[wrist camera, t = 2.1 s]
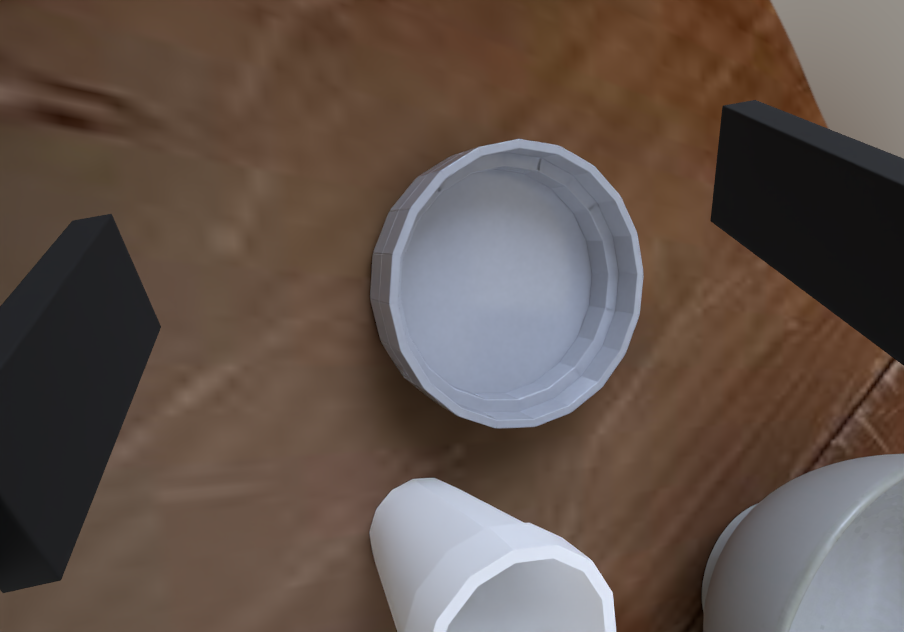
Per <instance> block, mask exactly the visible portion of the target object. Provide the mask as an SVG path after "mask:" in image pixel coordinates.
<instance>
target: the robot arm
mask: <svg viewBox="0 0 904 632" xmlns="http://www.w3.org/2000/svg"><path fill="white" fill-rule="evenodd" d="M711 222H713V223H714V224H715V225H717V226H718V227H719V228H721V229H722V230H723V231H725V232H726V233H727V234H729V235H730V236H731V237H733V238H734V239H735V240H737V241H738V242H739V243H741V244H742V245H743V246H745V247H746V248H747V249H749V250H750V251H751V252H753V253H754V254H755V255H757V256H758V257H759V258H761V259H762V260H763V261H765V262H766V263H767V264H769V265H770V266H771V267H773V268H774V269H776V270H777V271H778V272H780V273H781V274H782V275H784V276H785V277H786V278H788V279H789V280H790V281H792V282H793V283H794V284H796V285H797V286H798V287H800V288H801V289H802V290H804V291H805V292H806V293H808V294H809V295H810V296H812V297H813V298H814V299H816V300H817V301H818V302H820V303H821V304H822V305H824V306H825V307H826V308H828V309H829V310H830V311H832V312H833V313H834V314H836V315H837V316H838V317H840V318H841V319H842V320H844V321H845V322H846V323H848V324H849V325H850V326H852V327H853V328H854V329H856V330H857V331H858V332H860V333H861V334H862V335H864V336H865V337H866V338H868V339H869V340H870V341H872V342H873V343H874V344H876V345H877V346H878V347H880V348H881V349H882V350H884V351H885V352H886V353H888V354H889V355H890V356H892V357H893V358H894V359H896V360H897V361H898V362H900V363H901V364H902V365H904V159H903V158H901V157H898V156H895V155H893V154H890V153H888V152H885V151H883V150H880V149H878V148H875V147H873V146H870V145H867V144H865V143H863V142H860V141H857V140H855V139H852V138H850V137H847V136H845V135H842V134H840V133H837V132H834V131H832V130H830V129H827V128H825V127H822V126H820V125H817V124H815V123H812V122H809V121H807V120H804V119H802V118H799V117H797V116H794V115H792V114H789V113H787V112H784V111H782V110H779V109H777V108H774V107H771V106H769V105H766V104H764V103H761V102H759V101H756V100H753V101H747V102H742V103H736V104H731V105H725V106H723V107H722V117H721V127H720V136H719V146H718V155H717V165H716V174H715V184H714V193H713V203H712V212H711ZM160 328H161V326H160V324H159V321H158V319H157V317H156V314H155V312H154V310H153V308H152V305H151V303H150V301H149V298H148V296H147V294H146V292H145V289H144V287H143V285H142V283H141V280H140V278H139V276H138V273H137V271H136V269H135V267H134V264H133V262H132V260H131V257H130V255H129V253H128V251H127V248H126V246H125V244H124V241H123V239H122V237H121V235H120V232H119V230H118V228H117V225H116V223H115V221H114V219H113V216H112V214H108V215H102V216H97V217H91V218H85V219H80V220H74V221H72V222H71V223H70V224H69V225H68V227H67V228H66V229H65V230H64V231H63V233H62V234H61V235H60V236H59V237H58V239H57V240H56V241H55V242H54V243H53V245H52V246H51V247H50V248H49V249H48V250H47V252H46V253H45V254H44V255H43V256H42V258H41V259H40V260H39V261H38V262H37V264H36V265H35V266H34V267H33V268H32V270H31V271H30V272H29V273H28V274H27V276H26V277H25V278H24V279H23V280H22V281H21V283H20V284H19V285H18V286H17V287H16V289H15V290H14V291H13V292H12V293H11V295H10V296H9V297H8V298H7V299H6V301H5V302H4V303H3V304H2V305H1V306H0V590H1V591H2V592H3V593H6V592H10V591H15V590H19V589H24V588H28V587H33V586H37V585H42V584H46V583H51V582H55V581H60V580H61V579H62V576H63V574H64V571H65V569H66V566H67V563H68V561H69V558H70V556H71V553H72V551H73V548H74V546H75V543H76V541H77V538H78V536H79V533H80V531H81V528H82V525H83V523H84V520H85V518H86V515H87V513H88V510H89V508H90V505H91V503H92V500H93V498H94V495H95V493H96V490H97V487H98V485H99V482H100V480H101V477H102V475H103V472H104V470H105V467H106V465H107V462H108V460H109V457H110V455H111V452H112V450H113V447H114V444H115V442H116V439H117V437H118V434H119V432H120V429H121V427H122V424H123V422H124V419H125V417H126V414H127V412H128V409H129V406H130V404H131V401H132V399H133V396H134V394H135V391H136V389H137V386H138V384H139V381H140V379H141V376H142V374H143V371H144V369H145V366H146V363H147V361H148V358H149V356H150V353H151V351H152V348H153V346H154V343H155V341H156V338H157V336H158V333H159V331H160Z"/></svg>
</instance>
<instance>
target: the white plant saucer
mask: <svg viewBox="0 0 904 632" xmlns="http://www.w3.org/2000/svg"><path fill="white" fill-rule="evenodd" d="M373 253H374V254H373V258H372V273H371V289H370V298H371V300H370V301H371V305H372V309H373V313H374V317H375V321H376V325H377V329H378V333H379V337H380V340H381V341H382V344H383V346H384V348H385V349H386V351H387V352H388V354H389V356H390V357H391V359H392V360H393V362H394V363H395V365H396V367H397V368H398V370H399V371H400V373H401V375H402V376H403V377H404V378H405V379H406V380H407V381H409V382H410V383H411V384H412V385H414V386H415V387H416V388H417V389H419V390H420V391H421V392H422V393H424V394H425V395H426V396H427V397H429V398H430V399H431V400H433V401H434V402H436V403H437V404H439V405H440V406H442V407H444V408H445V409H447V410H448V411H450V412H452V413H453V414H455V415H457V416H458V417H462V418H465V419H468V420H471V421H474V422H477V423H480V424H483V425H486V426H489V427H492V428H496V429H499V428H524V427H536V426H539V425H541V424H544V423H546V422H549V421H551V420H554V419H556V418H559V417H561V416H564V415H567V414H569V413H571V412H573V411H574V410H575V409H576V408H578V407H579V406H580V405H581V404H582V403H584V402H585V401H586V400H587V399H589V398H590V397H591V396H592V395H594V394H595V393H596V392H597V391H598V390H600V389H601V388H602V387H603V386H604V384H605V383H606V381H607V380H608V378H609V377H610V375H611V374H612V373H613V371H614V370H615V368H616V367H617V365H618V364H619V363H620V361H621V360H622V358H623V357H624V355H625V353H626V351H627V348H628V346H629V343H630V340H631V337H632V335H633V332H634V329H635V326H636V324H637V321H638V318H639V315H640V306H641V295H642V285H643V267H642V260H641V254H640V247H639V241H638V235H637V231H636V229H635V227H634V225H633V222H632V220H631V218H630V216H629V214H628V211H627V209H626V207H625V205H624V203H623V200H622V198H621V196H620V195H619V194H618V192H617V191H616V190H615V189H614V188H613V187H612V186H611V184H610V183H609V182H608V181H607V180H606V179H605V178H604V176H603V175H602V174H601V173H600V172H599V171H598V170H597V169H596V167H595V166H593V165H592V164H590V163H589V162H587V161H585V160H584V159H582V158H580V157H578V156H577V155H575V154H573V153H571V152H570V151H568V150H566V149H564V148H563V147H561V146H559V145H554V144H548V143H542V142H536V141H530V140H524V139H515V140H510V141H506V142H501V143H496V144H491V145H486V146H481V147H477V148H474V149H471V150H468V151H465V152H462V153H458V154H455V155H452V156H450V157H448V158H447V159H445V160H444V161H442V162H440V163H439V164H437V165H436V166H434V167H432V168H431V169H429V170H427V171H426V172H424V173H423V174H421V175H419V176H418V177H417V178H416V179H415V180H414V181H413V182H412V184H411V185H410V186H409V187H408V189H407V190H406V191H405V192H404V193H403V195H402V196H401V197H400V198H399V200H398V201H397V202H396V203H395V205H394V206H393V207H392V208H391V209H390V212H389V213H388V215H387V218H386V221H385V223H384V226H383V228H382V231H381V234H380V236H379V239H378V241H377V244H376V247H375V249H374V252H373Z"/></svg>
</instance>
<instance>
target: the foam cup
mask: <svg viewBox="0 0 904 632" xmlns="http://www.w3.org/2000/svg"><path fill="white" fill-rule="evenodd" d="M369 534H370V540H371V546H372V553H373V555H374V561H375V564H376V567H377V570H378V573H379V576H380V579H381V582H382V585H383V589H384V592H385V595H386V598H387V601H388V604H389V607H390V610H391V613H392V616H393V620H394V623H395V626H396V629H397V632H616V623H615V612H614V602H613V592H612V591H611V589H610V588H609V586H608V585H607V583H606V581H605V580H604V578H603V577H602V575H601V574H600V572H599V571H598V569H597V567H596V566H595V564H594V563H593V561H592V560H591V559H589V558H588V557H587V556H586V555H584V554H583V553H582V552H580V551H579V550H578V549H576V548H575V547H574V546H573V545H571V544H570V543H569V542H567V541H566V540H565V539H563V538H562V537H560V536H557V535H555V534H553V533H551V532H549V531H547V530H544V529H542V528H540V527H538V526H536V525H533V524H531V523H524V522H522V521H520V520H518V519H516V518H514V517H512V516H510V515H508V514H506V513H504V512H502V511H501V510H499V509H497V508H495V507H493V506H491V505H489V504H487V503H485V502H483V501H481V500H479V499H477V498H475V497H473V496H471V495H470V494H468V493H466V492H464V491H462V490H460V489H458V488H456V487H454V486H451V485H449V484H447V483H445V482H443V481H441V480H438V479H436V478H419V479H411V480H410V481H408V482H406V483H404V484H402V485H400V486H399V487H397V488H395V489H393V490H391V492H390V493H389V494H388V495H387V497H386V498H385V499H384V500H383V501H382V503H381V504H380V505H379V506H378V508H377V509H376V511H375V515H374V518H373V521H372V525H371V528H370V532H369Z"/></svg>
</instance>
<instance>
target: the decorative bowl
mask: <svg viewBox="0 0 904 632" xmlns="http://www.w3.org/2000/svg"><path fill="white" fill-rule="evenodd" d="M702 606H703V612H704V620H703V632H904V454H889V455H877V456H869V457H863V458H857V459H851V460H846V461H842V462H838V463H835V464H831V465H828V466H824V467H821V468H819V469H816V470H813V471H811V472H808V473H806V474H803V475H801V476H799V477H797V478H795V479H793V480H791V481H789V482H787V483H786V484H784V485H782V486H781V487H779V488H778V489H776V490H775V491H773V492H772V493H770V494H769V495H768V496H767V497H765V498H764V499H763V500H762V501H760V502H759V503H758V504H755V505H753V506H751V507H749V508H748V509H746V510H745V511H743V512H742V513H741V514H739V515H738V516H737V517H736V518H735V519H734V520H733V521H732V522H731V523H730V524H729V525H728V526H727V527H726V529H725V530H724V531H723V533H722V534H721V536H720V537H719V539H718V540H717V542H716V544H715V546H714V548H713V550H712V552H711V554H710V557H709V559H708V562H707V565H706V569H705V573H704V578H703V584H702Z"/></svg>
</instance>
